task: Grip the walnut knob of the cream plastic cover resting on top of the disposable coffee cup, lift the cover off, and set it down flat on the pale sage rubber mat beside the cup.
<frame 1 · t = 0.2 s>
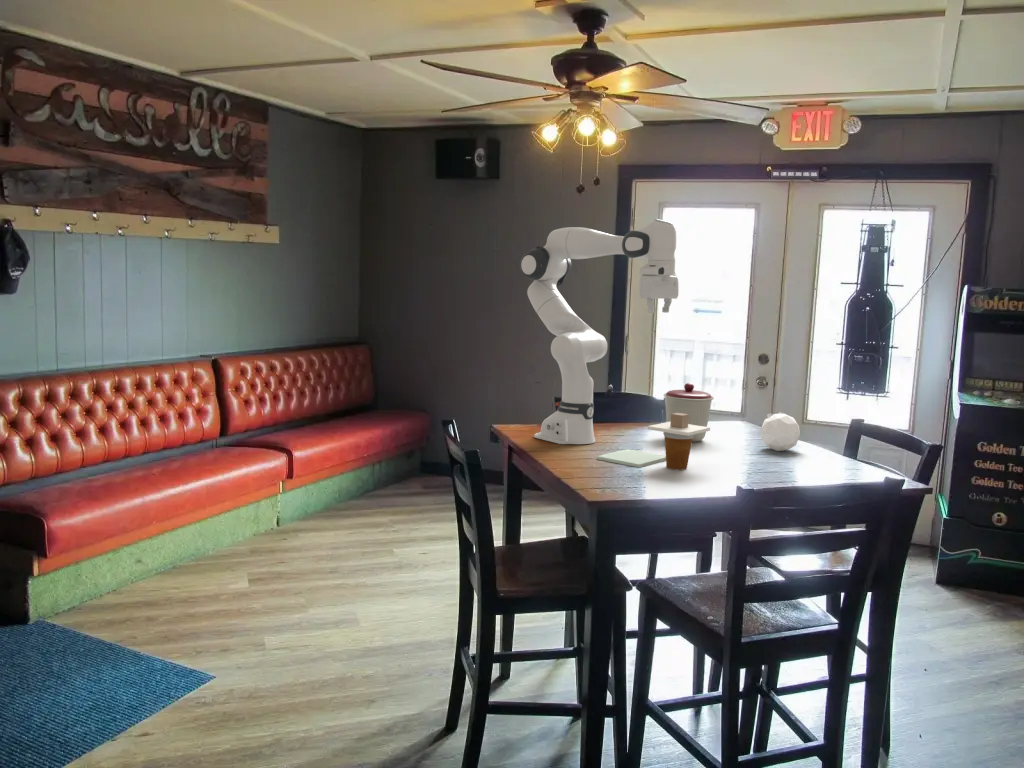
hand: (658, 312, 283), 47 cm above the table, tool pointing down, fingers open, 8 cm apart
geodesic sphere: (778, 450, 306), on the table
mat: (632, 459, 281), on the table
cover: (678, 429, 269), point 12 cm above the table, touching disposable coffee cup
disposable coffee cup: (676, 468, 271), on the table, touching cover
canister: (685, 440, 320), on the table
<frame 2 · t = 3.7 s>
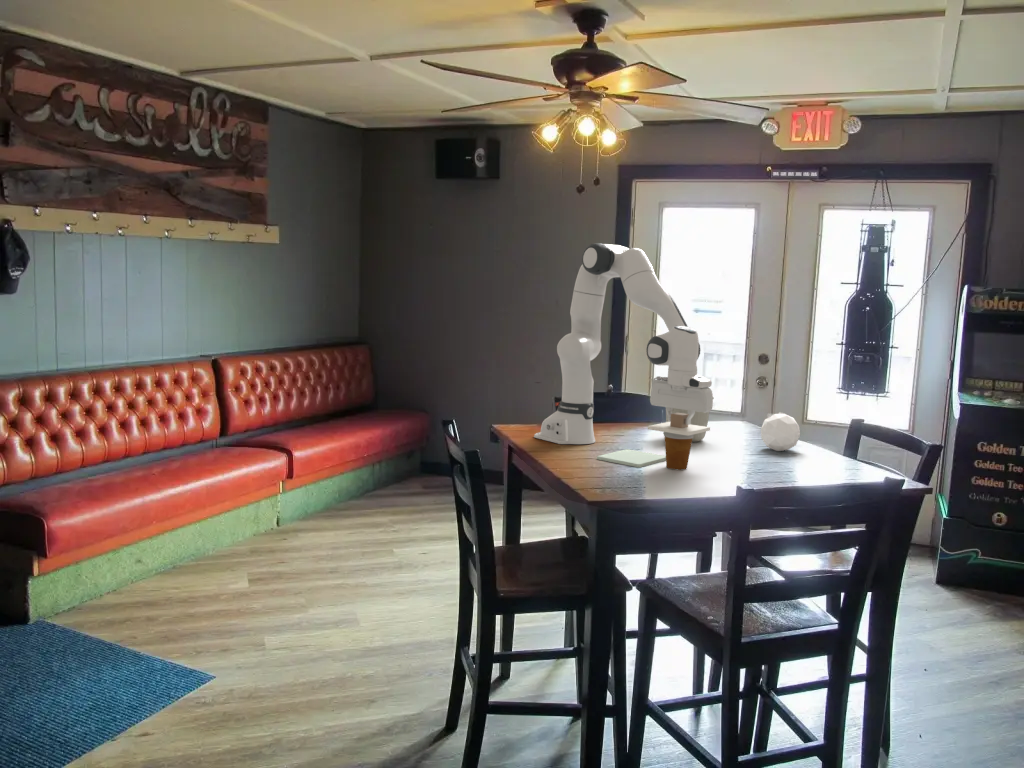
hand: (679, 423, 269), 14 cm above the table, tool pointing down, fingers closed on cover, 4 cm apart
cover: (678, 429, 269), point 12 cm above the table, touching disposable coffee cup, gripper
everything else where it was.
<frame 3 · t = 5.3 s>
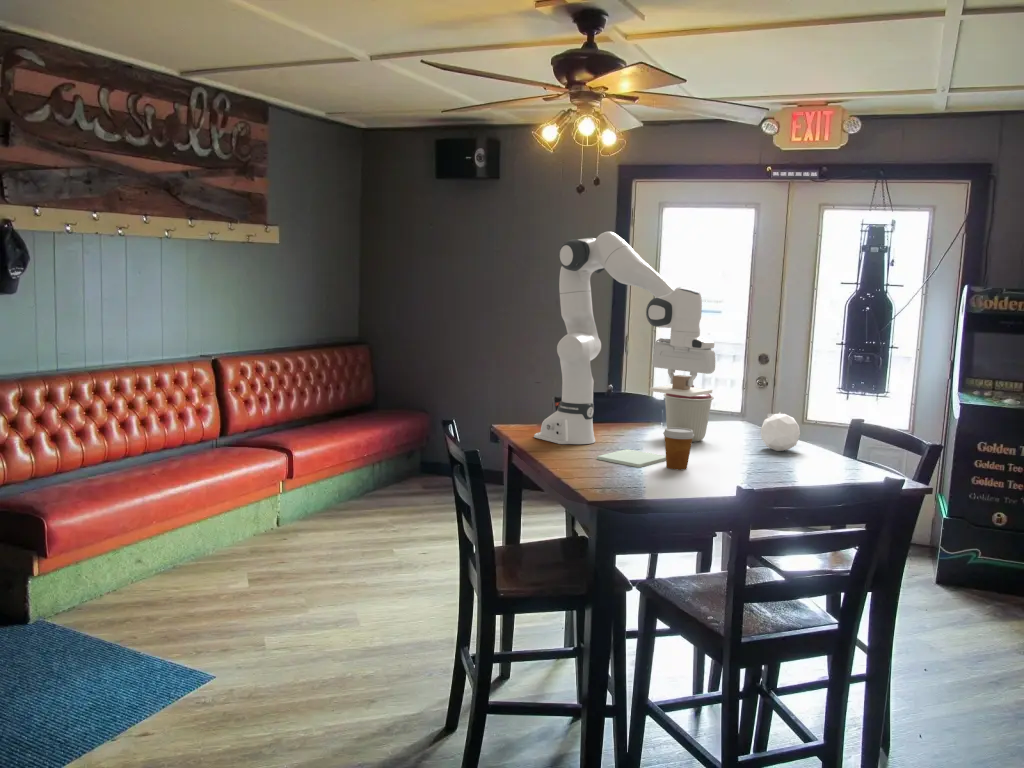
hand: (681, 385, 268), 26 cm above the table, tool pointing down, fingers closed on cover, 4 cm apart
cover: (681, 392, 268), point 24 cm above the table, touching gripper
disposable coffee cup: (676, 468, 271), on the table
everything else where it was.
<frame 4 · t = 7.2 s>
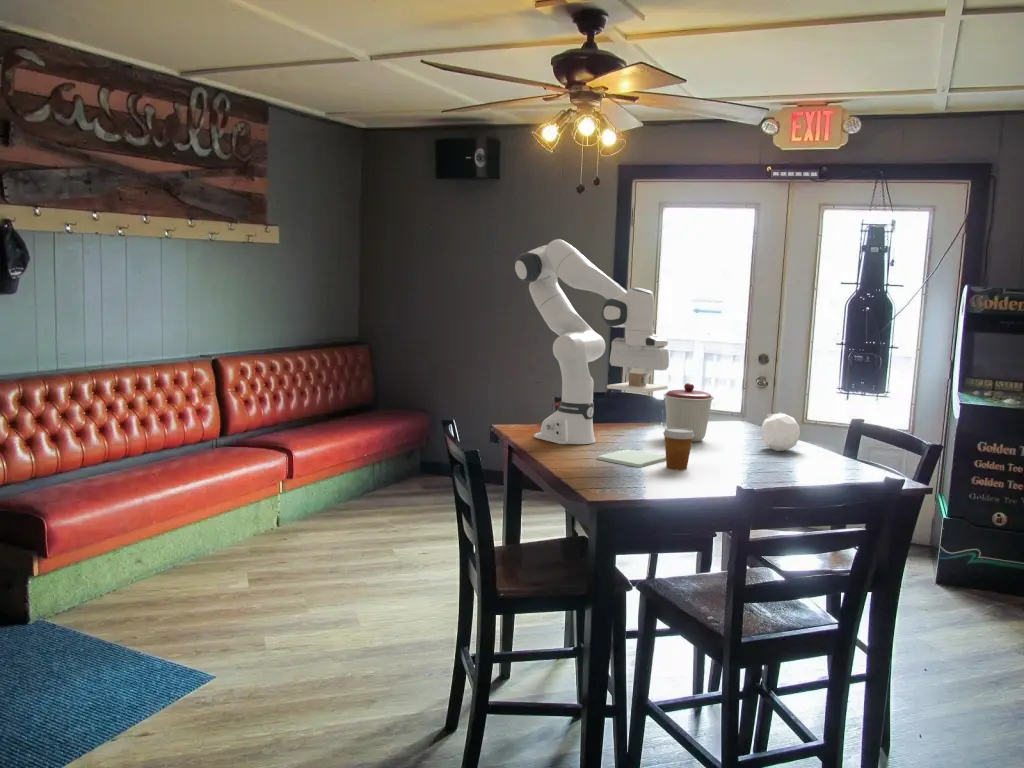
hand: (637, 382, 278), 25 cm above the table, tool pointing down, fingers closed on cover, 4 cm apart
cover: (637, 388, 278), point 23 cm above the table, touching gripper
everything else where it was.
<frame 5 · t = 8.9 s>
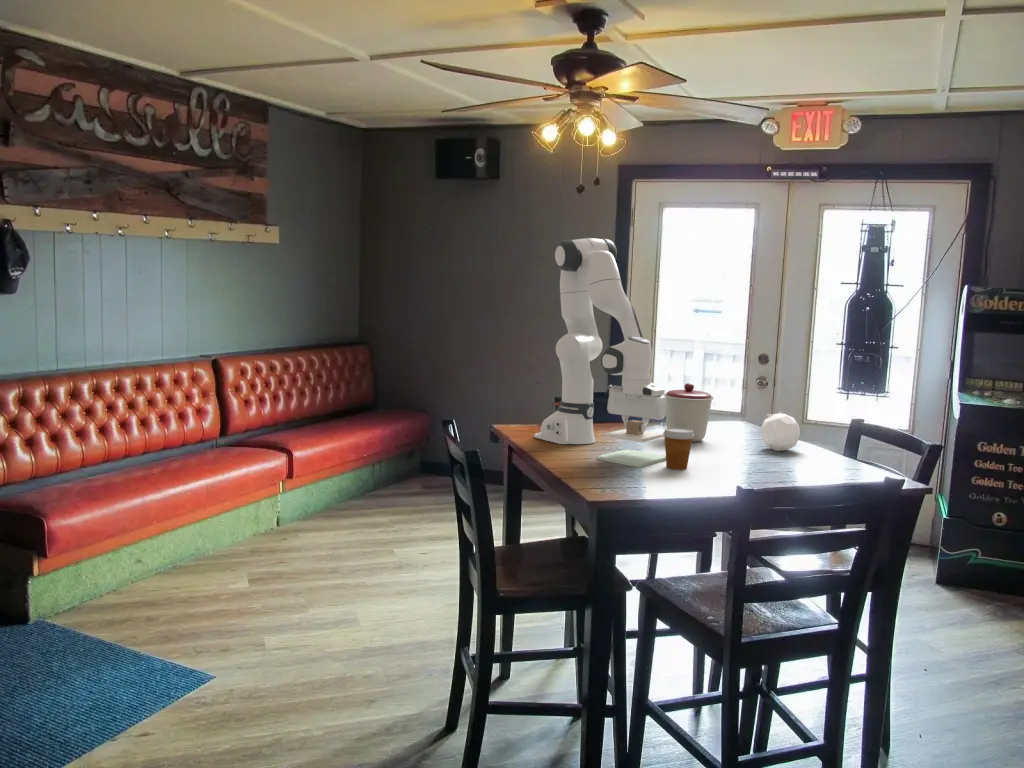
hand: (635, 430, 279), 10 cm above the table, tool pointing down, fingers closed on cover, 4 cm apart
cover: (634, 436, 280), point 8 cm above the table, touching gripper
everything else where it was.
when the fingers open (5 cm above the table, at t = 10.4 s): cover drops 1 cm, resting on mat.
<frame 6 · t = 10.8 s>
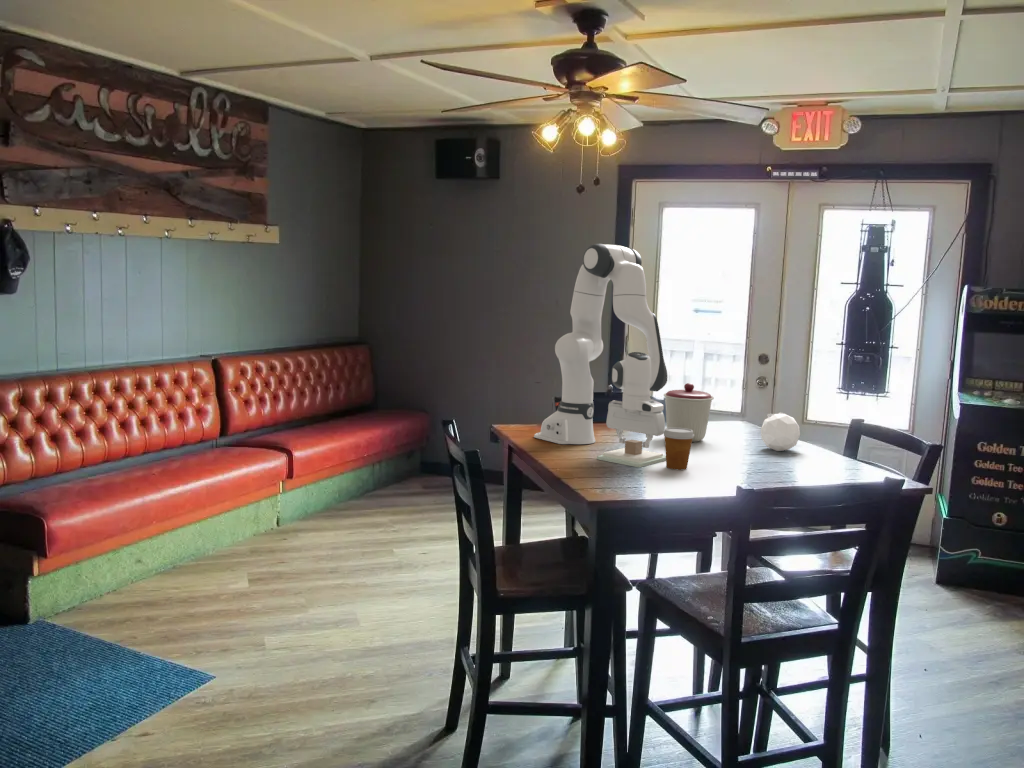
hand: (633, 445, 280), 5 cm above the table, tool pointing down, fingers open, 8 cm apart
cover: (633, 456, 281), point 1 cm above the table, touching mat
everything else where it was.
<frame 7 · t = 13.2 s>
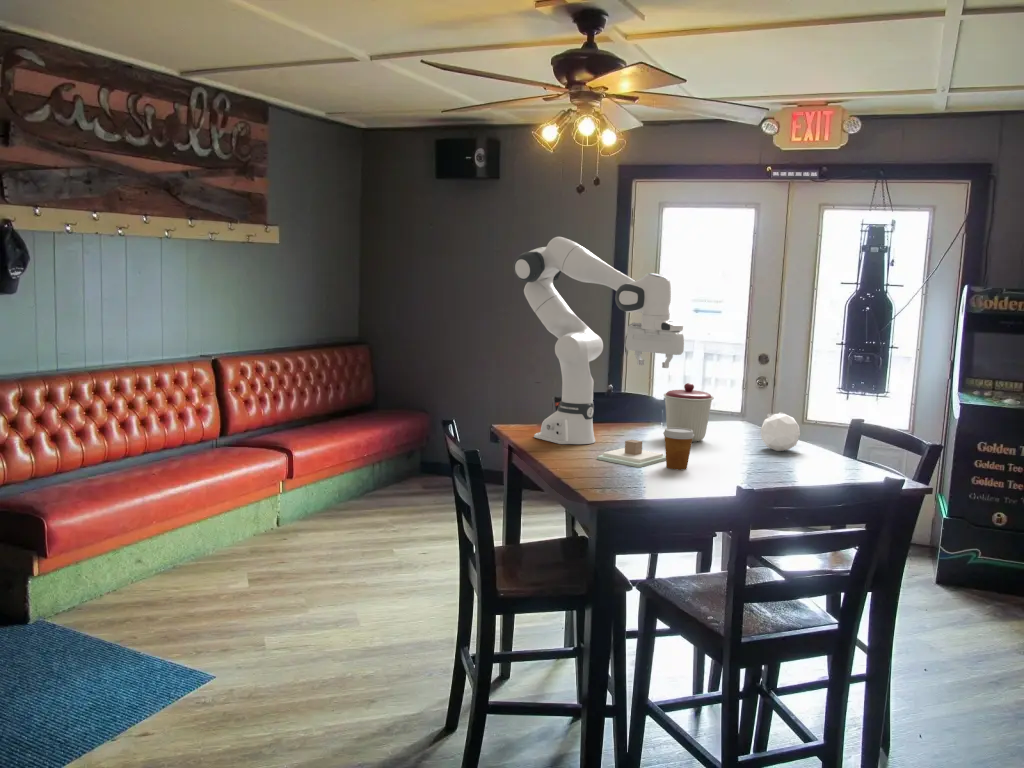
hand: (652, 366, 282), 30 cm above the table, tool pointing down, fingers open, 8 cm apart
nothing on the table moved.
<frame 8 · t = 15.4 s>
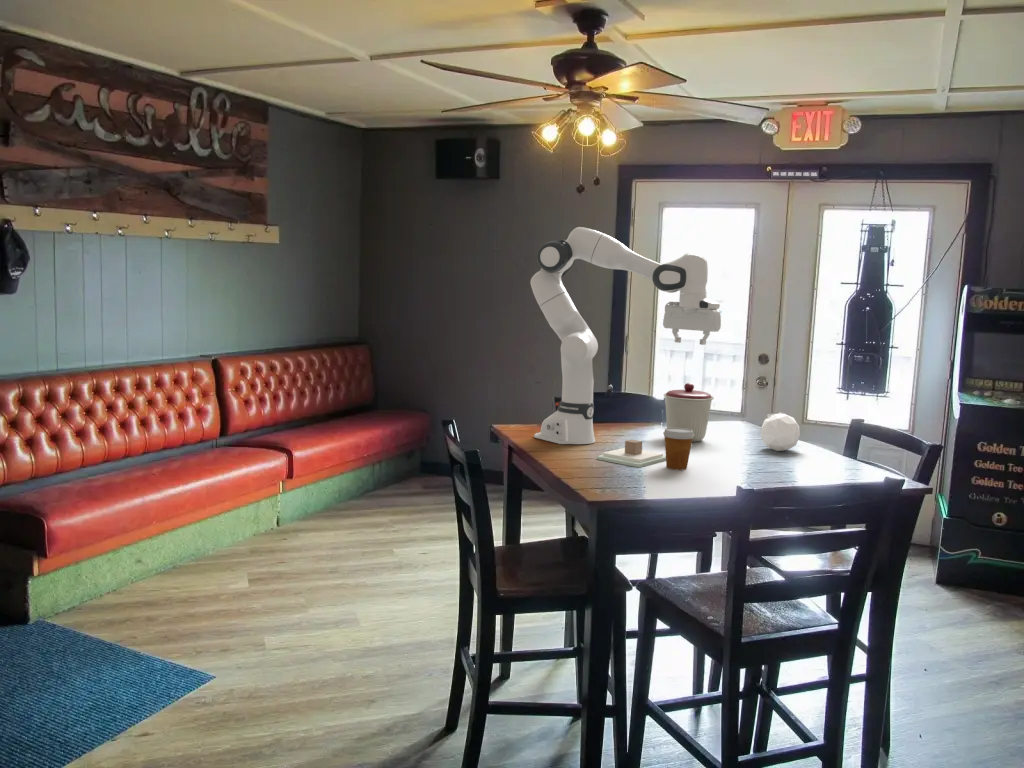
hand: (690, 343, 294), 37 cm above the table, tool pointing down, fingers open, 8 cm apart
nothing on the table moved.
at the end: cover inside the target area (0.1 cm from its centre), point 1.0 cm above the table; the gripper is holding nothing; disposable coffee cup tilted 0° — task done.
